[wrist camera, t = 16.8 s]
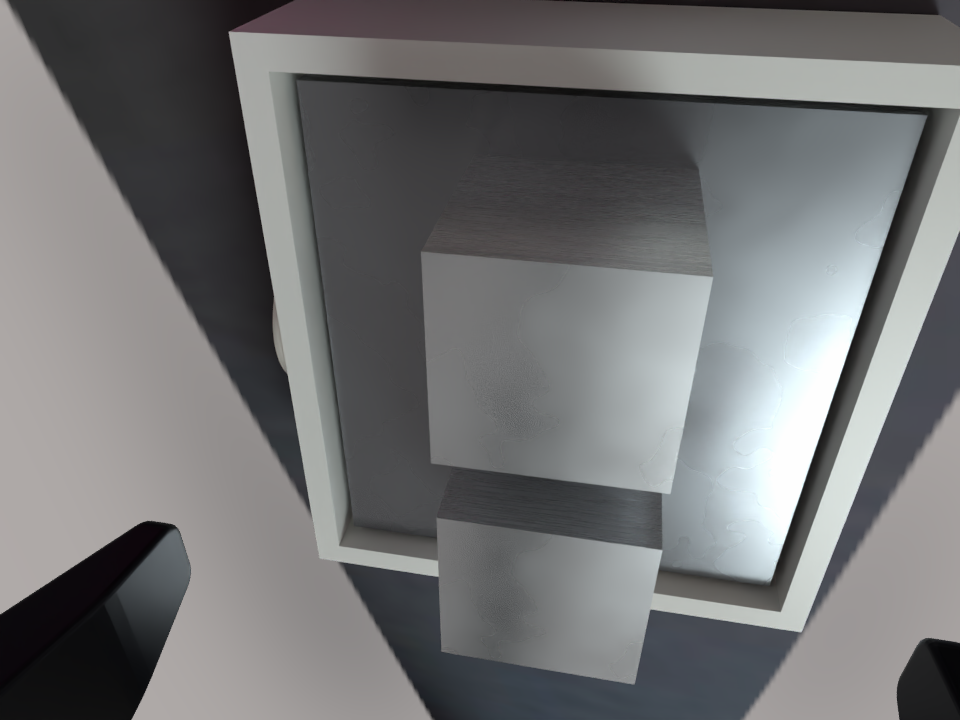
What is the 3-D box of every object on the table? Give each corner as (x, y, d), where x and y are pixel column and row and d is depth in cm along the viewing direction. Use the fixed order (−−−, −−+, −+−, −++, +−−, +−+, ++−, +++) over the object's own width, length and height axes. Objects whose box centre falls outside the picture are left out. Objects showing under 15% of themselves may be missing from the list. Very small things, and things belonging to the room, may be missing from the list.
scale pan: (765, 558, 22) (769, 586, 21) (364, 502, 24) (354, 525, 23) (911, 99, 15) (927, 115, 14) (314, 68, 16) (296, 80, 16)
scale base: (779, 514, 25) (801, 632, 21) (350, 458, 27) (303, 555, 23) (940, 15, 16) (1022, 68, 13) (292, -10, 18) (203, 30, 15)
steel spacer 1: (666, 357, 18) (670, 493, 14) (475, 337, 18) (430, 463, 15) (699, 169, 15) (713, 277, 11) (474, 154, 16) (421, 251, 12)
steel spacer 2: (637, 536, 21) (634, 684, 17) (477, 514, 22) (441, 652, 18) (660, 408, 18) (662, 550, 15) (477, 387, 19) (436, 517, 16)
